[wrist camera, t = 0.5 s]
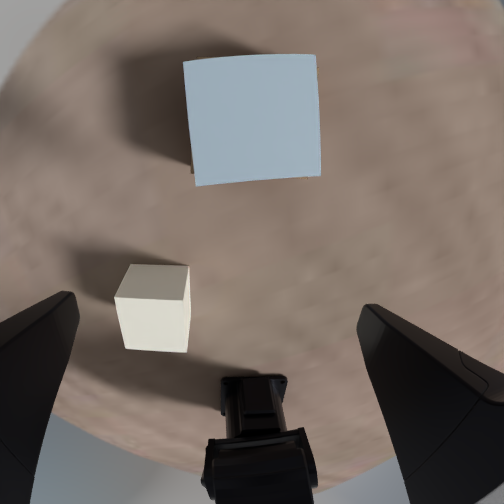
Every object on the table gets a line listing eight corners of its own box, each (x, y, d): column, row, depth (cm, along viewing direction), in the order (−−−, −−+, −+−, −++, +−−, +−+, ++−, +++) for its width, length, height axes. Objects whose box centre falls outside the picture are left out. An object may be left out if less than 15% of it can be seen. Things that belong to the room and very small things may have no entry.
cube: (191, 313, 24) (186, 352, 20) (137, 311, 24) (125, 348, 20) (189, 265, 22) (183, 300, 18) (130, 263, 22) (114, 297, 18)
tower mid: (308, 166, 18) (320, 175, 16) (199, 176, 18) (196, 186, 15) (303, 61, 15) (315, 54, 13) (188, 68, 15) (183, 61, 12)
